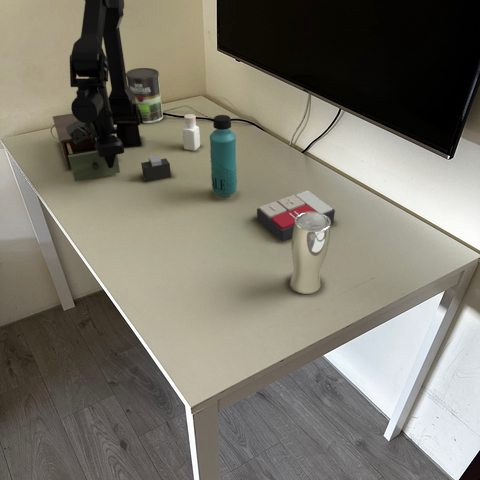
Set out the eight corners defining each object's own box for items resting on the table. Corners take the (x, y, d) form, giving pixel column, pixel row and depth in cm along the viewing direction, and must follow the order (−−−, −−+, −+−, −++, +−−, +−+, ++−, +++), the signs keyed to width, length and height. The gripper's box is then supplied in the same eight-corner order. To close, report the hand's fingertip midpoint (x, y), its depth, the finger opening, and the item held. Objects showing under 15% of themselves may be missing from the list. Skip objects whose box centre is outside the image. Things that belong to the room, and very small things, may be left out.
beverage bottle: (238, 189, 124) (237, 111, 110) (235, 202, 120) (234, 122, 106) (213, 188, 125) (210, 110, 111) (210, 201, 120) (205, 121, 106)
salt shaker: (183, 149, 142) (180, 117, 135) (189, 144, 145) (186, 112, 138) (195, 151, 141) (193, 119, 134) (201, 146, 143) (199, 114, 137)
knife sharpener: (167, 171, 132) (165, 153, 128) (171, 177, 129) (169, 159, 126) (143, 176, 130) (140, 158, 126) (146, 182, 127) (143, 163, 124)
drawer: (121, 174, 129) (116, 151, 124) (75, 183, 125) (69, 159, 121) (107, 147, 141) (103, 125, 136) (65, 154, 138) (59, 131, 133)
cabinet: (115, 161, 136) (110, 132, 131) (68, 169, 133) (60, 140, 127) (103, 137, 149) (98, 109, 143) (60, 144, 145) (52, 116, 139)
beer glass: (285, 274, 98) (290, 211, 88) (318, 272, 99) (327, 209, 88) (290, 296, 93) (297, 232, 83) (325, 294, 94) (335, 230, 83)
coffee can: (158, 124, 156) (153, 78, 146) (128, 122, 157) (121, 76, 147) (167, 112, 163) (162, 68, 153) (138, 111, 164) (131, 66, 154)
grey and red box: (256, 205, 111) (308, 187, 116) (256, 221, 114) (307, 202, 119) (281, 228, 104) (336, 207, 109) (281, 244, 107) (334, 223, 112)
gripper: (58, 98, 118) (74, 158, 129) (69, 126, 106) (85, 189, 117) (103, 92, 121) (114, 151, 132) (118, 118, 109) (130, 181, 120)
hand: (110, 167), depth 125 cm, fingers closed
